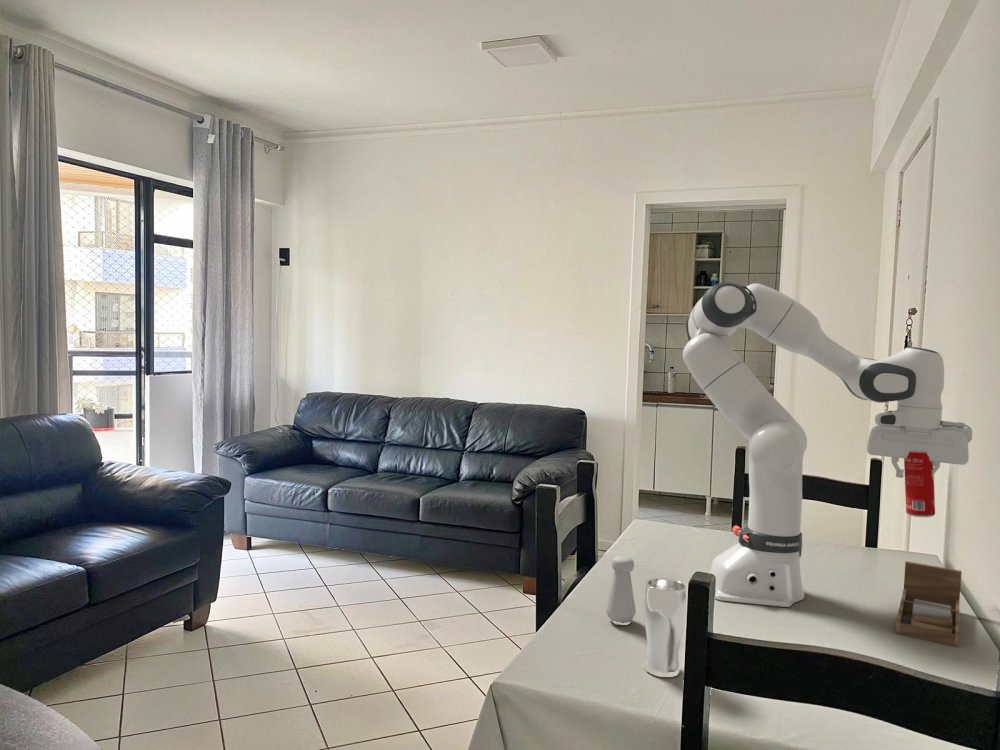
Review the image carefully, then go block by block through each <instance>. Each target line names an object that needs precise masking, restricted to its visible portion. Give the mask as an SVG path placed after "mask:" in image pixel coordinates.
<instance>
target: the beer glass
mask: <svg viewBox="0 0 1000 750" xmlns="http://www.w3.org/2000/svg"><path fill="white" fill-rule="evenodd" d="M645 585H646V586H645V594H644V604H643V617H644V619H643V621H644V628H645V635H646V636H645V637H646V645H647V646H646V648H647V649H646V655H645V659H644V660H645V661H644V664H646V665H647V667H649V668H650V669H652V670H654V671H657V672H661V673H667V672H668V673H669V672H675V671H677V670H678V669H679V667H680V659H679V655H680V645H681V641H682V637H683V632H684V629H685V624H686V623H685V622H686V616H687V615H686V614H687V613H686V612H687V594H686V593H687V592H686V591H687V590H686V588H687V586H686V584H685V583H684V582H682V581H679V580H677V579H674V578H668V577H653V578H649V579H647V580H646V583H645ZM680 668H681V667H680Z"/></svg>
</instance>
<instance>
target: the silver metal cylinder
mask: <svg viewBox="0 0 1000 750" xmlns="http://www.w3.org/2000/svg"><path fill="white" fill-rule="evenodd" d="M910 621H911V622H910V625H914V626H919V627H924V628H928V629H933V630H938V631H942V632H947V633H952V634H953V625H952V614H951V606H949V605H943V604H938V603H933V602H928V601H923V600H918V599H914V603H913V614H912V617H911V619H910Z"/></svg>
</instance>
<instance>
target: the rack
mask: <svg viewBox="0 0 1000 750" xmlns="http://www.w3.org/2000/svg"><path fill="white" fill-rule="evenodd" d="M903 580H904V581H903V590H902V595H901V598H900V603H899V608H898V611H897V615H896V616H897V617H896V626H895V633H896V634H899V635H904V636H908V637H913V638H917V639H921V640H927V641H931V642H933V643H938V644H939V643H940V644H944V645H948V646H953V647H959V642H960V641H959V640H960V639H959V638H960V604H961V603H960V600H961V598H960V596H961V585H962V570H960V569H954V568H953V569H952V568H948V567H941V566H936V565H930V564H924V563H919V562H918V563H917V562H911V561H908V560H905V565H904V579H903ZM914 599H918V600H923V601H928V602H933V603H938V604H943V605H949V606H951V614H952V627H953V626H954V633H953V632H952V633H947V632H942V631H938V630H933V629H928V628H924V627H919V626H914V625H911V623H910V624H909V623H905V622H904V623H903V622H902V621H903V617H905V616H906V617H911V618H912V614H913V603H914Z"/></svg>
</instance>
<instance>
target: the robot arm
mask: <svg viewBox="0 0 1000 750" xmlns="http://www.w3.org/2000/svg"><path fill="white" fill-rule="evenodd" d="M740 328H743V329H748V330H749V331H753V332H755V333H756V334H757V335H758V336H761V337H762V338H763V339H764V340H766V341H768V342H770V343H771V344H773V345H775V346H777V347H779V348H782V349H783V350H786V351H789V352H791V353H794V354H799V355H801V356H804V357H807V358H809V359H812V360H813V361H815V362H816V363H818V364H820V365H821V366H823V367H824V368H826V369H827V370H829V371H830V372H832V373H833V374H835V375H836V376H837V377H839V378H840V379H841V380H842V382H843V383H844V386H845V387H846V389H848V391H849V392H850V393H851V394H852V395H853V396H854V397H856V398H857V399H860V400H863V401H870V402H873V403H878V404H880V403H881V404H884V403H888V402H897V406H896V409H895V410H887V411H886V412H880V413H879V412H878V413H877V414H875V416H874V422H875V424H874V425H873V426H872V427H871V428H870V430H869V434H868V437H867V442H866V449H865V451H866V452H867V454H868V455H870V456H879V457H889V458H891V460H890V461H891V464H892V466H893V468H894V469H895V477H896V478H900V479H903V478H904V476H905V469H902V468H900V467H899V464H898V463H899V461H900V459H903V460H904V459H906V458H907V456H908V454H909V451H910V452H927V455H928V456H929V459H930V461H932V462H933V468H934V469H933V475H935V473H936V472H937V471H938V470H939V468H940V467H941V463H942V464H952V465H960V466H964V465H966V464H967V463H968V462H969V459H970V458H969V443H971V441H972V439H973V430H972V427H971V426H969V425H967V424H965V422H960V421H959V422H953V421H948V420H947V421H946V420H942V417H943V416H942V414H943V404H942V394H943V392H944V386H945V364H944V358H943V356H942V355H941V354H940V353H939V352H937V351H936V350H931V349H929V348H923V347H917V346H908V347H905V348H904V349H902V350H901V351H899V352H898V353H895V354H892V355H890V356H887V357H884V358H881V359H878V360H877V359H874V358H869V357H868V358H867V357H862V356H859V355H856V354H854V353H853V352H851V351H850V350H848V349H846V348H845V347H844V346H842V345H840V344H839V343H838V342H835V341H834V340H832V339H831V338H830V337H829V336H828V335H827V334H826V333H825V332H824V331H823V329H822V327H821V325H820V322H819V319H818V317H817V316H815V315H814V314H813V313H812V312H811V311H810V310H809V309H807V307H805V306H804V305H803V304H801V303H800V302H798V301H796V300H794V299H793V298H792V297H790V296H788V295H786V294H785V293H782V292H780V291H779V290H777V289H775V288H772V287H769V286H767V285H765V284H761V283H758V282H757V283H756V282H755V283H751V284H748V285H746V286H744V285H740V284H738V283H734V282H729V281H724V282H719V283H716V284H714V285H712V286H711V287H710V288H708V289H707V290H706V291H705V292H704V294H703V296H702V297H701V298H700V299H699V300H698V301H697V302H696V303H695V305H694V306H693V308H692V309H691V311H690V314H689V315H688V317H687V319H686V323H685V330H686V331H685V333H686V336H687V338H688V342H687V343H686V344H685V346H684V348H683V350H682V359H683V362H684V364H685V366H686V367H687V369H688V371H689V372H690V374H691V376H692V378H693V379H694V381H695V382H696V383H697V385H698V387H700V389H701V390H702V391H703V393H704V394H705V395H706V396H707V397H708V399H709V400H710V402H711V403H712V404H713V405H714V407H715V408H716V409H717V410H718V411H719V412H720V414H721V415H722V417H724V419H725V420H727V421H728V422H729V423H730V424H731V425H732V426H734V427H735V428H736V429H737V431H738V432H739V433H740V434H742V435H743V437H744V438H745V439H746V440H747V441H748V484H749V485H748V486H749V497H748V499H749V501H748V517H747V519H748V520H747V525H746V526H745V527H744V528H741V527H740V526H738V525H734V526H733V527H732V529H731V532H732V534H733V535H734V536H737V537H738V542H737V543H736V544H733V546H731V547H729V548H727V549H726V550H725V551H723V552H721V553H720V554H718V555H716V556H715V557H714V559H713V561H712V563H711V566H710V571H709V574H710V573H712V574H714V575H715V576H716V578H717V582H716V597H715V598H714V599H715V600H718V601H724V602H731V603H732V602H733V603H734V602H735V603H742V604H743V603H744V604H750V605H751V604H754V605H762V606H763V605H764V606H773V607H782V608H790V607H792V605H793V604H795V603H797V602H799V601H802V600H803V599H805V591H804V586H803V581H802V574H801V564H800V563H801V561H800V558H801V557H802V550H803V533H802V532H801V527H802V526H801V525H802V509H803V508H802V507H803V465H804V464H803V462H804V461H803V460H804V455H805V452H806V450H807V446H808V438H807V435H806V432H805V431H804V429H803V427H802V426H801V425H800V424H799V423H798V422H797V420H796V419H795V418H794V417H793V416H792V415H791V414H790V413H789V411H788V410H786V408H785V407H783V405H782V404H781V403H780V402H779V401H778V399H776V398H775V397H774V396H773V395H772V394H771V393H770V391H768V390H767V389H766V387H765V386H764V384H762V383H761V381H760V380H759V379H758V378H757V377H756V376H755V374H754V373H753V372H752V370H751V369H750V368H749V367H748V366H747V365H746V364H745V362H744V361H743V360H742V359H741V358H740V357H739V356H738V354H737V353H736V352H735V351H734V349H733V348H732V346H731V343H730V339H729V337H730V336H732V335H733V334H735V333H736V331H737V330H738V329H740Z"/></svg>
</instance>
